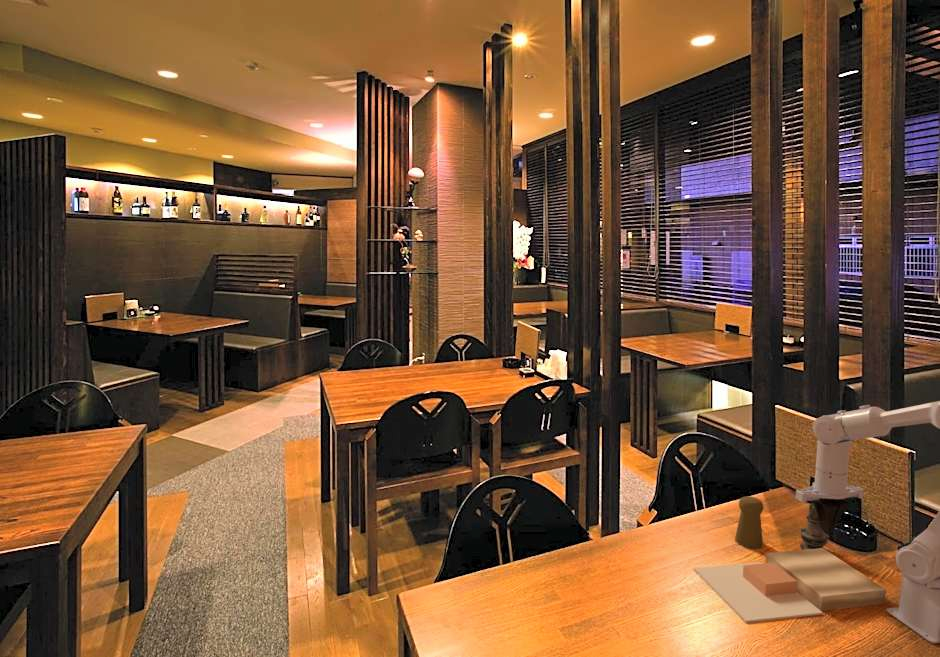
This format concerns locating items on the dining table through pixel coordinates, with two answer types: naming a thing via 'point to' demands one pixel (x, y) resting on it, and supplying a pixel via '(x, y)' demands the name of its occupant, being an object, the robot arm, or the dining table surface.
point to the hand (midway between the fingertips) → (826, 530)
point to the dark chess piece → (813, 532)
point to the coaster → (769, 579)
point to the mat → (753, 596)
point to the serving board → (828, 579)
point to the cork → (750, 523)
